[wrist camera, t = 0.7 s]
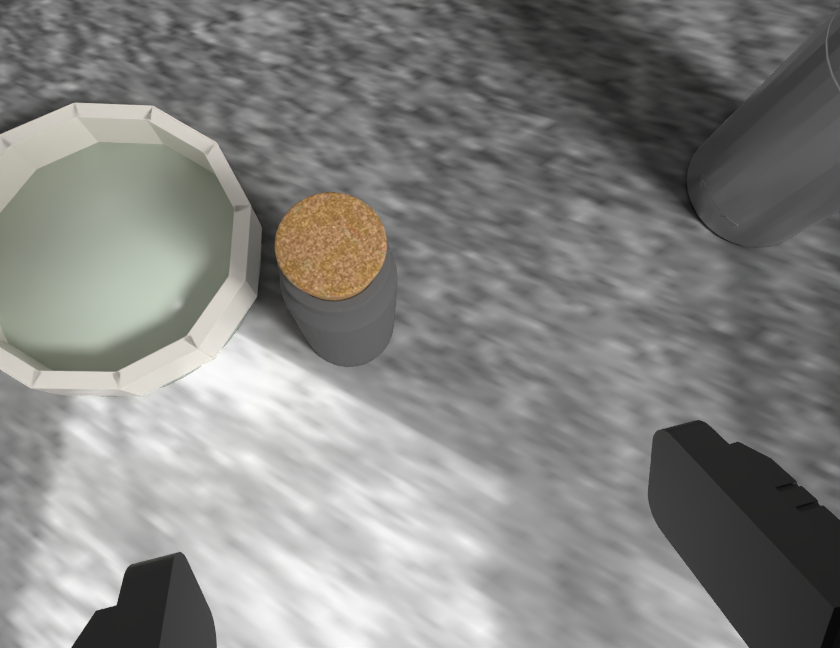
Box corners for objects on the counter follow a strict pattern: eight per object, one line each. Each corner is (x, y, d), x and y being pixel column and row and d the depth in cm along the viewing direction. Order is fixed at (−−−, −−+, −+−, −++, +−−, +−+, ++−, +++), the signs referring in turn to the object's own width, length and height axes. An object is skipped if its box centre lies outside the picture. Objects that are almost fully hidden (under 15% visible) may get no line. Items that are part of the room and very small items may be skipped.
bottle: (291, 303, 40) (238, 210, 25) (371, 268, 41) (365, 159, 26) (326, 382, 39) (293, 333, 24) (408, 345, 40) (423, 276, 25)
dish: (191, 97, 43) (172, 60, 39) (308, 312, 40) (300, 296, 36) (-62, 208, 40) (-110, 180, 36) (44, 449, 37) (4, 448, 33)
